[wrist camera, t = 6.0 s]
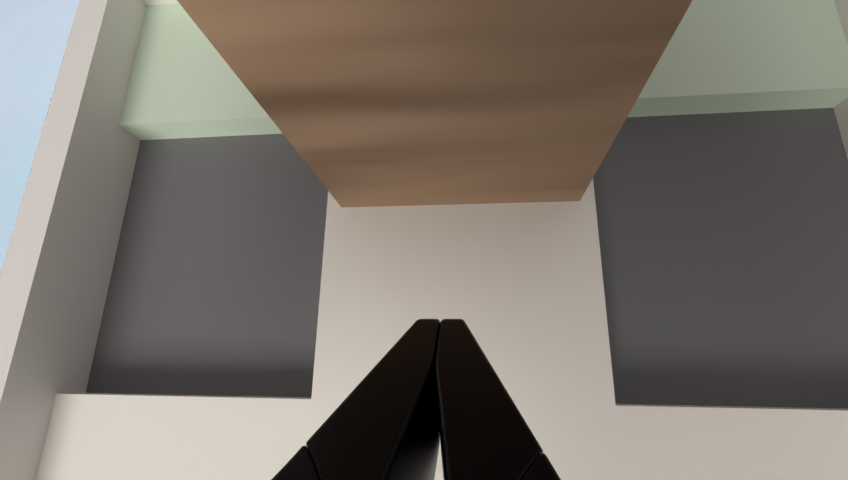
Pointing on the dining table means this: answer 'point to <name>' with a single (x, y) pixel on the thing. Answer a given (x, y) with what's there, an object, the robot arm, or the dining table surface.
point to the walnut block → (444, 89)
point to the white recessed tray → (433, 268)
